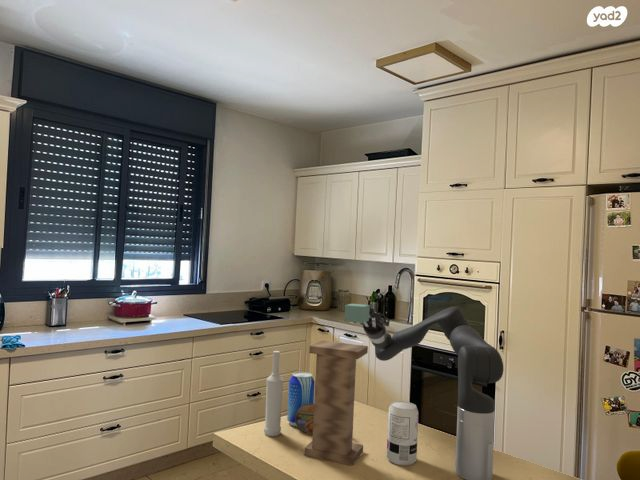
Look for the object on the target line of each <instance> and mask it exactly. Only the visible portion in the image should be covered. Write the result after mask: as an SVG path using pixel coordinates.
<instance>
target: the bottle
mask: <svg viewBox="0 0 640 480" xmlns="http://www.w3.org/2000/svg"><path fill="white" fill-rule="evenodd" d="M280 353H281V352H280V351H279V350H273V352H272V371H271V373H270V375H269V376H268V377H267V378H266V386H265V387H266V388H265V389H266V391H265V392H266V393H265V394H266V396H265V420H264V423H265V424H264V428H263V432H264V435H265V436H267V437H277V436H279V435H281V432H282V429H281V428H282V427H281V417H282V404H283V403H282V402H283V391H284V389H283V387H284V378H283V377H282V376H281V375H280V371H279V369H280Z"/></svg>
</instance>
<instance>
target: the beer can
mask: <svg viewBox="0 0 640 480" xmlns="http://www.w3.org/2000/svg"><path fill="white" fill-rule="evenodd" d="M314 397H315V379H314V377H313V374H312V373H310V372H306V371H296V372H293V373H292V375H291V377H290V378H289V381H288V397H287V400H288V401H287V415H286V419H287V422H288V423H289V425H290V426H292V427H295V426H296V428H298V426H297V425H296V422H295V415H296V412H297V411H298V409H299V408H300V407H302V406H303V405H305V404H314Z"/></svg>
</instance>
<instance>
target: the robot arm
mask: <svg viewBox="0 0 640 480" xmlns="http://www.w3.org/2000/svg"><path fill="white" fill-rule="evenodd" d="M369 314H370V317H371V318H369V321H367V322H364V323H360V325H361V326H362V328H363V331H364V332H365V334H366V336H367V338H368V339H369V340H370V342H371V344H372V345H373V346H374V352H375V353H374V354H375V357H376V358H377V359H378V360H379V361H381V362H383V361H385V362H387V361H390V360H391V359H393V358H394V357H396V356H398V355H399V354H400V353H401V352H403V351H404V350H407V349H411V348H412V347H415V346H418V345H420V344H421V342H422V341H423V340H424V339H425V336H427V333H428V332H429V331H430V329H431V328H432V327H434V326H435V325H439V327H440V329H441V331H442V333H443V334H444V336H445V338H446V339H447V340H449V344H450V347H451V348H452V350H453V352H454V353H455V354H456V355H457V375H458V376H457V377H458V378H457V381H458V382H457V384H458V385H457V410H456V411H457V413H456V414H457V415H456V416H457V418H456V436H455V437H456V441H455V443H456V444H455V463H454V465H455V467H454V471H455V474H456V475H457V476H458V477H460V478H461V479H464V480H493V473H494V472H493V469H494V467H493V465H494V436H495V435H494V433H495V432H494V431H495V409H496V407H495V405H496V404H495V400H494V398H492V397H491V396H489V395H488V394H485V393H483V392H481V391H478V390H477V389H475V388H474V387H473V383H483V384H494V383H497V382H499V381H500V380H501V379H502V377H503V374H504V368H505V367H504V361H503V359H502V356H501V354H500V352H499V351H498V350H497V349H496V348H495V347H494V346H492V345H491V344H489V343H488V342H487V341H486V340H485V339H484V338H483V337H482V336H481V334H480V333H479V332H478V331H477V330H476V329H475V328H474V327H472V326H470V324H469V322H468V320H467V319H466V316H465V315H464V313H463V312H462V309H461V308H460V307H459V306H450V307H446V308H445V309H443V310H441V311H438V312H436V313H434V314H433V315H431V316H429V317H427V318H425V319H424V320H422V321H420V322H418V323H416V324H414V325H412V326H409V327H408V328H405V329H402V330H399V331H397V332H395V333H393V334H390V333H388V330H387V327H389V326H390V320H391V319H390V318H389V317H387V316H386V315H385V314H383V313H381V312H378V313H377V311H376V310H375V309H374V308H373V307H369ZM352 323H353V324H357V322H352Z"/></svg>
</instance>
